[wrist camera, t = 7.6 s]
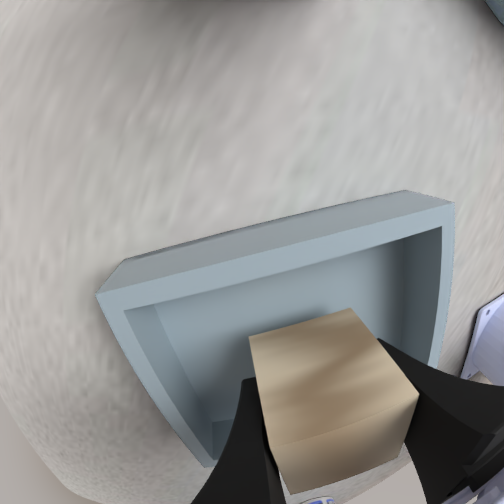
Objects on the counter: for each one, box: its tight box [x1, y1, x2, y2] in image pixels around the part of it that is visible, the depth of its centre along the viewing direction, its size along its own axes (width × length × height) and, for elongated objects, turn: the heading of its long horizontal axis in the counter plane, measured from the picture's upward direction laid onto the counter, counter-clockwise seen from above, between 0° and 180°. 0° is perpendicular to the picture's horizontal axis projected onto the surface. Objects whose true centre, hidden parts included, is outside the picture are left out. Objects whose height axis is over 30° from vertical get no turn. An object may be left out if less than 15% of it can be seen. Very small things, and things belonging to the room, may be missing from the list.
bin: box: [95, 190, 455, 468], centre depth 12 cm, size 14×12×4 cm
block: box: [249, 307, 419, 495], centre depth 10 cm, size 4×4×6 cm
